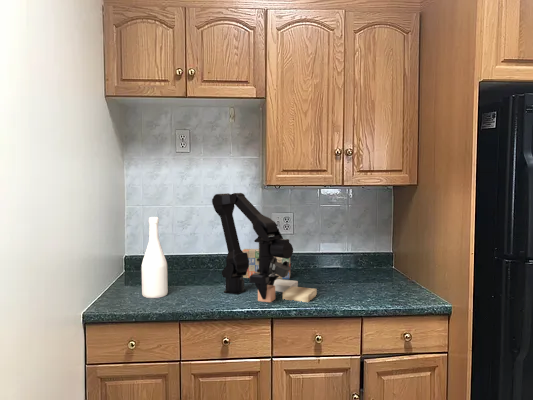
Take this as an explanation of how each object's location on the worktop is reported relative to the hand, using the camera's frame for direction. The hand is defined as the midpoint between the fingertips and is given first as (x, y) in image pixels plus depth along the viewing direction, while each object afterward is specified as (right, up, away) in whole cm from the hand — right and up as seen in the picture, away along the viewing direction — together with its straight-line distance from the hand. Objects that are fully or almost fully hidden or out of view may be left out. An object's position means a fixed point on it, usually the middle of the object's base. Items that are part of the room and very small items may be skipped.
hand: (266, 297), depth 168 cm
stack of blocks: (0, +1, +37) cm, 37 cm away
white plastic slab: (+7, -1, +16) cm, 17 cm away
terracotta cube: (0, -1, 0) cm, 1 cm away
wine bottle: (-43, -1, +6) cm, 43 cm away
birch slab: (+12, -1, +4) cm, 13 cm away
